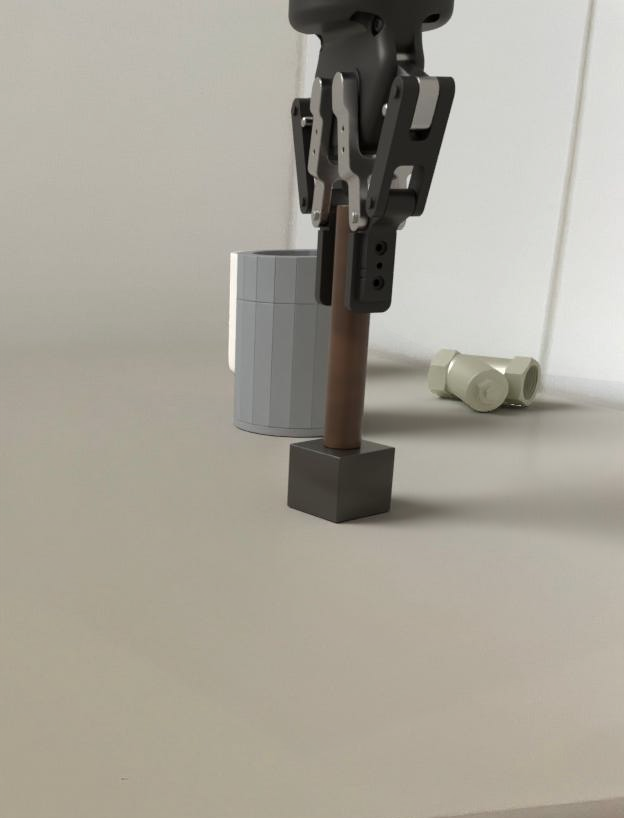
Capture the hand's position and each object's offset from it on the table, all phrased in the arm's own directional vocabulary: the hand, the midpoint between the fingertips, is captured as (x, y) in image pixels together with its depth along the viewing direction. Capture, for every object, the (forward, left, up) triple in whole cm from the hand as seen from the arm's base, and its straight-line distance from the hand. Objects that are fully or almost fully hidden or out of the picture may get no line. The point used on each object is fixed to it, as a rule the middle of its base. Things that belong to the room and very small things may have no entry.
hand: (351, 306), depth 55 cm
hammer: (0, 0, -11) cm, 11 cm away
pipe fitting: (-22, -25, -11) cm, 35 cm away
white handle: (-12, -43, -11) cm, 46 cm away
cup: (-6, -22, -11) cm, 25 cm away
